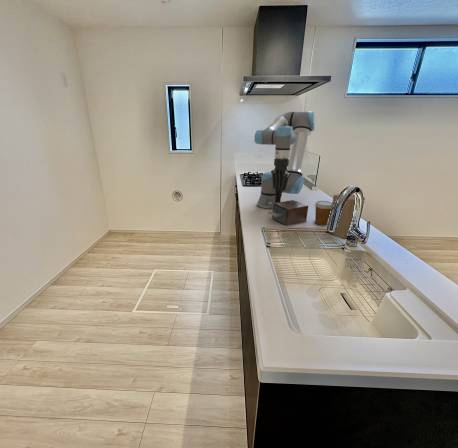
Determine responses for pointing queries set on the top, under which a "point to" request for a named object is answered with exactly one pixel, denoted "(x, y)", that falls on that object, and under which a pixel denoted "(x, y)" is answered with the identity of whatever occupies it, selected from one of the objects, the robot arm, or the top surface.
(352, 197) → the wooden block
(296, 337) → the top surface
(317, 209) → the amber jar
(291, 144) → the robot arm
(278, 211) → the drawer
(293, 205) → the cabinet
